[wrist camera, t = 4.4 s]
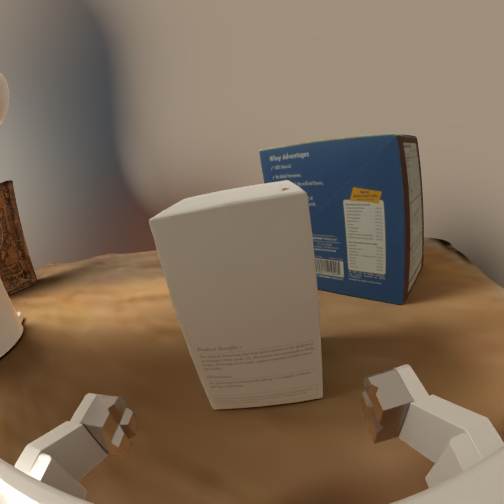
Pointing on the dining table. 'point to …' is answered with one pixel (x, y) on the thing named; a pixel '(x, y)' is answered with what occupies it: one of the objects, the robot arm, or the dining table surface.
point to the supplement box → (246, 292)
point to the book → (13, 245)
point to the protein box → (359, 210)
